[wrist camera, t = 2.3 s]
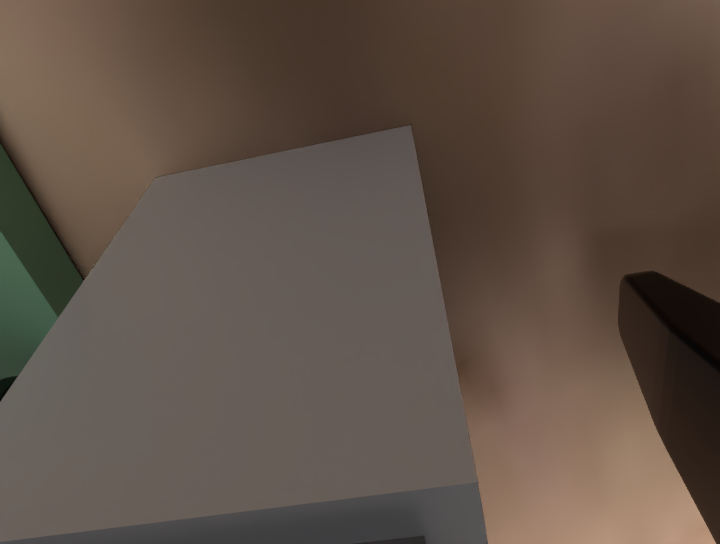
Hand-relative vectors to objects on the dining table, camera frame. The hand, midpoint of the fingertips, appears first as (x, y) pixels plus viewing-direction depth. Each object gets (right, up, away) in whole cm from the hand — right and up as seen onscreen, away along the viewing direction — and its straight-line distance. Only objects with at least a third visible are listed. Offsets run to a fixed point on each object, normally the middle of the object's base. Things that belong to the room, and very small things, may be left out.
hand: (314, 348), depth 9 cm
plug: (0, +1, +1) cm, 2 cm away
